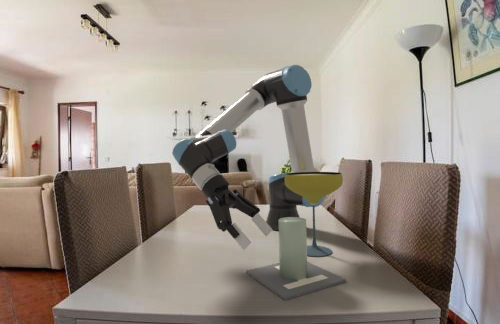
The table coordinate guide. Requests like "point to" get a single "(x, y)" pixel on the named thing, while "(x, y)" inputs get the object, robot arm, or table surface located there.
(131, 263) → the table surface
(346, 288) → the table surface
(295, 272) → the green canister
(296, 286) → the letter board
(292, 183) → the cocktail glass
